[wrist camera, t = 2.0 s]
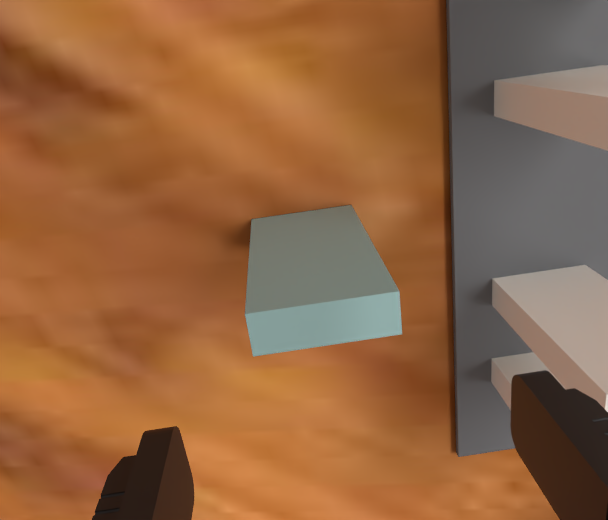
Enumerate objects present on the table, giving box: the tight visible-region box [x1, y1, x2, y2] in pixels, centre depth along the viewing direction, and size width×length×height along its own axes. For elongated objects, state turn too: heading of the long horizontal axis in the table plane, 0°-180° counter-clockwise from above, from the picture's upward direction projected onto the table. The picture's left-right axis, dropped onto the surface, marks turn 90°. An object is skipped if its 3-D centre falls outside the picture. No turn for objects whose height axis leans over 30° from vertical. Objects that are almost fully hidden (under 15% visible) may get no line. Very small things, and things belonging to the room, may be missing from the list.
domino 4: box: [491, 352, 566, 410], centre depth 25 cm, size 2×5×10 cm, turn 97°
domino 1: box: [245, 205, 402, 356], centre depth 22 cm, size 2×5×10 cm, turn 97°
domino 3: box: [492, 265, 608, 412], centre depth 23 cm, size 2×5×10 cm, turn 98°
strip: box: [446, 0, 608, 457], centre depth 27 cm, size 30×9×1 cm, turn 7°
